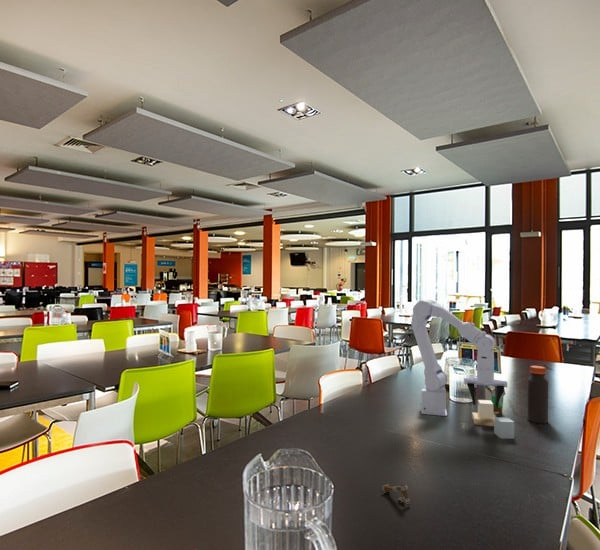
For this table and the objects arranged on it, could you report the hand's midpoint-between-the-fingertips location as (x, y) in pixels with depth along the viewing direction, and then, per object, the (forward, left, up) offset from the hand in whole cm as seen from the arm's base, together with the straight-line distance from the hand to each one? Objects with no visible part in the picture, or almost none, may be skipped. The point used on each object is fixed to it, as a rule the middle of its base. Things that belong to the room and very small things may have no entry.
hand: (485, 405), depth 154 cm
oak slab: (0, 0, -7) cm, 7 cm away
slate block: (+4, -13, -6) cm, 15 cm away
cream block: (0, 0, -4) cm, 4 cm away
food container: (+6, +13, -6) cm, 16 cm away
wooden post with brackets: (-28, -65, -7) cm, 71 cm away
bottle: (+19, +7, -6) cm, 21 cm away
